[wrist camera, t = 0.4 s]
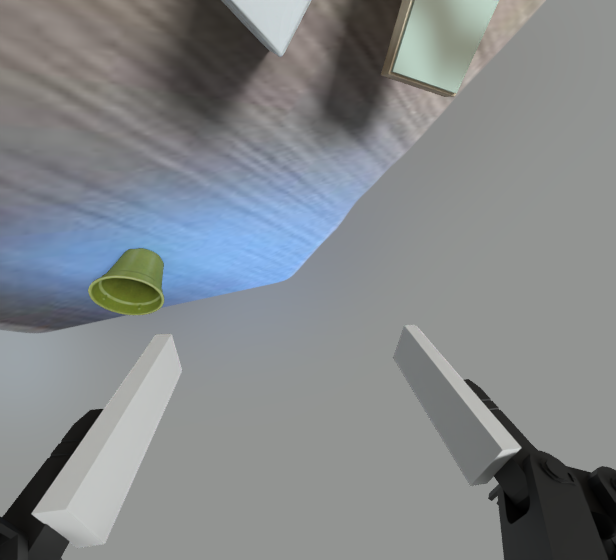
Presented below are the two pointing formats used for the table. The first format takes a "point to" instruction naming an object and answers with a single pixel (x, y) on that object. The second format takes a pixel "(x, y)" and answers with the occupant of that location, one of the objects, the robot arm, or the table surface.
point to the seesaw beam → (436, 42)
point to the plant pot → (131, 284)
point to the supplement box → (270, 20)
